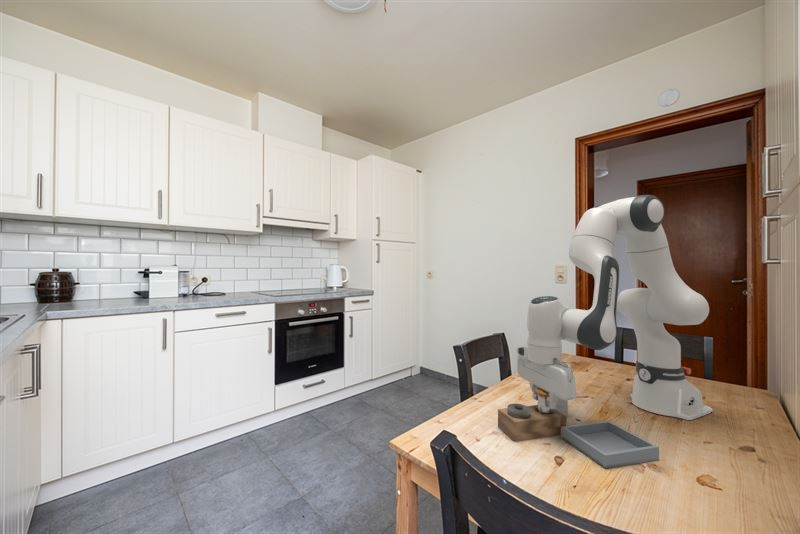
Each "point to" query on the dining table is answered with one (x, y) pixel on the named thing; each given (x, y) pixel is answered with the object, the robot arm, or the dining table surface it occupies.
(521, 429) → the block
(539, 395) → the pin
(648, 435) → the dining table surface
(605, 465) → the tray
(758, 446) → the dining table surface
